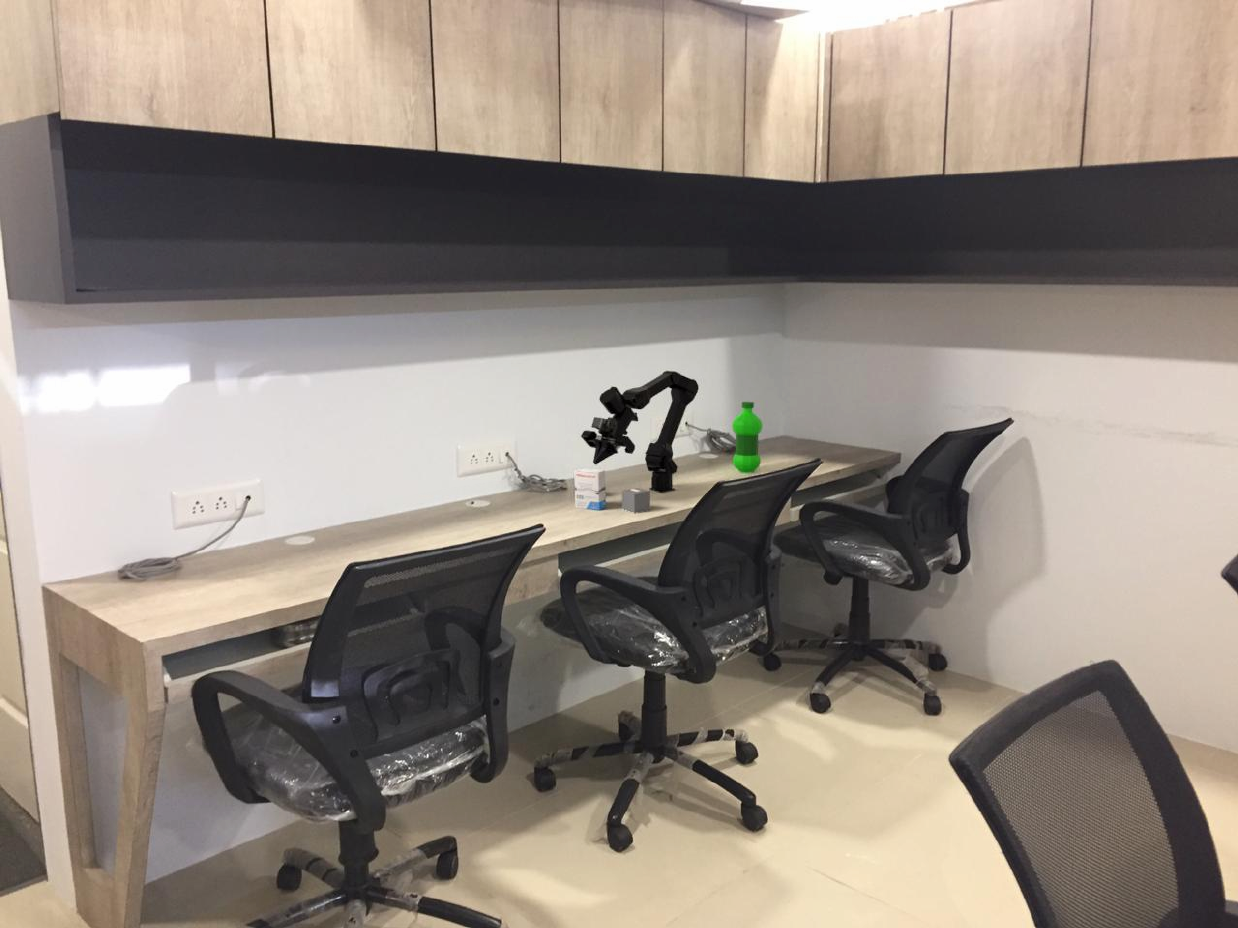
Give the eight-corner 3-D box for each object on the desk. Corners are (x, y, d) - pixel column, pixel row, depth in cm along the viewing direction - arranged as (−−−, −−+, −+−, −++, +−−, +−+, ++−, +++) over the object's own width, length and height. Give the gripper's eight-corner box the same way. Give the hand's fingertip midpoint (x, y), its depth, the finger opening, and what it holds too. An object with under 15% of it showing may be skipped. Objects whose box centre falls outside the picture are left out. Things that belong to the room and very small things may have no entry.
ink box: (606, 507, 302) (606, 469, 300) (598, 511, 298) (598, 472, 296) (582, 504, 306) (581, 467, 304) (574, 508, 302) (573, 470, 300)
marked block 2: (637, 507, 303) (637, 487, 302) (649, 510, 298) (649, 490, 297) (621, 509, 299) (621, 490, 298) (634, 513, 295) (634, 493, 294)
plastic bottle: (761, 474, 351) (763, 404, 346) (731, 473, 352) (732, 404, 347) (761, 468, 360) (762, 400, 356) (731, 468, 362) (732, 400, 357)
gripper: (584, 404, 308) (559, 444, 302) (628, 410, 295) (603, 451, 289) (602, 426, 315) (578, 465, 309) (646, 432, 302) (621, 473, 296)
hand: (594, 463), depth 301 cm, fingers closed
